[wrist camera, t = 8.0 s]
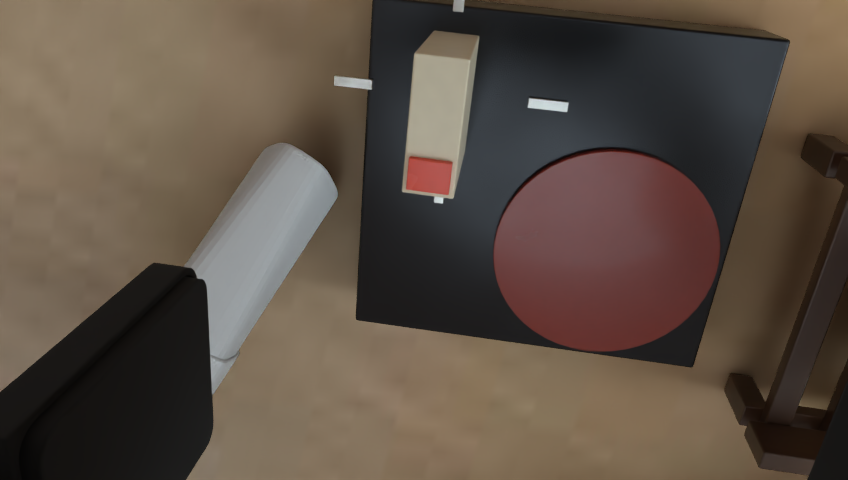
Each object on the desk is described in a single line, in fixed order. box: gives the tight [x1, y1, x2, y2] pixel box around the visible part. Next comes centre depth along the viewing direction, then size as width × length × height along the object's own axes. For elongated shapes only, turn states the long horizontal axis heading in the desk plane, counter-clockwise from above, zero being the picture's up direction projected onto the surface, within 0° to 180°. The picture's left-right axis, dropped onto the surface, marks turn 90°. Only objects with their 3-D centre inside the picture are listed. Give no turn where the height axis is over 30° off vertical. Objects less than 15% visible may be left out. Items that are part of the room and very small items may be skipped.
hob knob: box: [402, 31, 479, 199], centre depth 22 cm, size 4×2×5 cm, turn 175°
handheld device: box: [184, 143, 338, 395], centre depth 31 cm, size 4×22×15 cm
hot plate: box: [493, 149, 720, 352], centre depth 26 cm, size 8×8×1 cm
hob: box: [334, 0, 790, 367], centre depth 27 cm, size 15×14×3 cm
